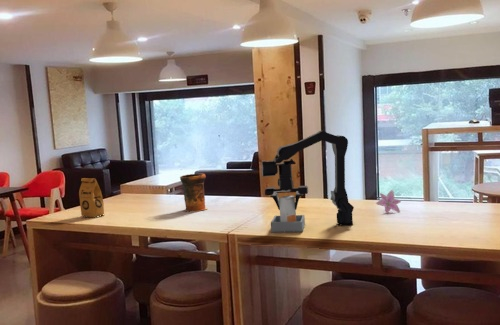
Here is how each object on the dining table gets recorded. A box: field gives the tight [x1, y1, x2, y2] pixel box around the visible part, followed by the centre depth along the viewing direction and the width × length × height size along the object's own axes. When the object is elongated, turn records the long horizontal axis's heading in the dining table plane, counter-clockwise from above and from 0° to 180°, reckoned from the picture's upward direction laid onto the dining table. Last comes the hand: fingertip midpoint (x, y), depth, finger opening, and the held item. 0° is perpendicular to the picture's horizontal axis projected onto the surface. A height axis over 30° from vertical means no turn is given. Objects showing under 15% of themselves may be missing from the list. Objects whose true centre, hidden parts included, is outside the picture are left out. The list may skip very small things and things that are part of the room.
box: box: [270, 214, 306, 234], centre depth 211 cm, size 14×14×4 cm
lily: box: [375, 189, 402, 214], centre depth 232 cm, size 12×12×10 cm
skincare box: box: [278, 195, 297, 222], centre depth 210 cm, size 6×4×12 cm
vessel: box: [179, 173, 208, 213], centre depth 268 cm, size 14×14×20 cm
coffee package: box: [78, 177, 105, 218], centre depth 268 cm, size 10×12×22 cm
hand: (287, 209), depth 210 cm, fingers closed on skincare box, 7 cm apart
